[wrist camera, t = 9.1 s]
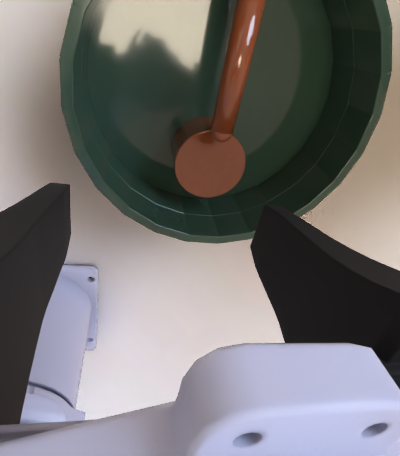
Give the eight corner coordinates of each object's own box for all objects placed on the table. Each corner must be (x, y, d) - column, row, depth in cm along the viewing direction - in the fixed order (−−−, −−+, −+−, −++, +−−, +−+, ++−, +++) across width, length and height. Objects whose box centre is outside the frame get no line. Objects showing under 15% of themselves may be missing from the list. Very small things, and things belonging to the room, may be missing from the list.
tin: (287, 209, 24) (316, 250, 20) (80, 189, 21) (65, 233, 17) (382, -38, 16) (461, -53, 12) (77, -132, 13) (49, -194, 9)
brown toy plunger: (226, 182, 22) (241, 211, 19) (166, 175, 21) (171, 204, 18) (279, -23, 16) (313, -30, 13) (199, -45, 15) (214, -58, 12)
